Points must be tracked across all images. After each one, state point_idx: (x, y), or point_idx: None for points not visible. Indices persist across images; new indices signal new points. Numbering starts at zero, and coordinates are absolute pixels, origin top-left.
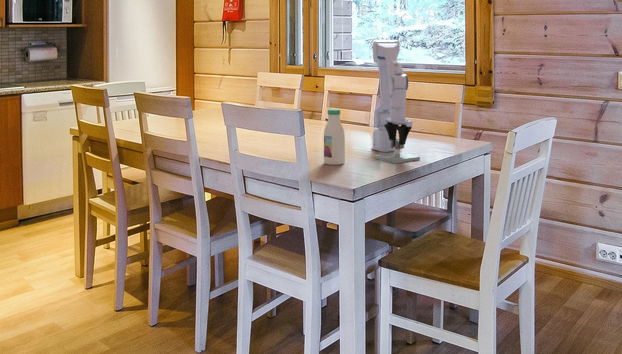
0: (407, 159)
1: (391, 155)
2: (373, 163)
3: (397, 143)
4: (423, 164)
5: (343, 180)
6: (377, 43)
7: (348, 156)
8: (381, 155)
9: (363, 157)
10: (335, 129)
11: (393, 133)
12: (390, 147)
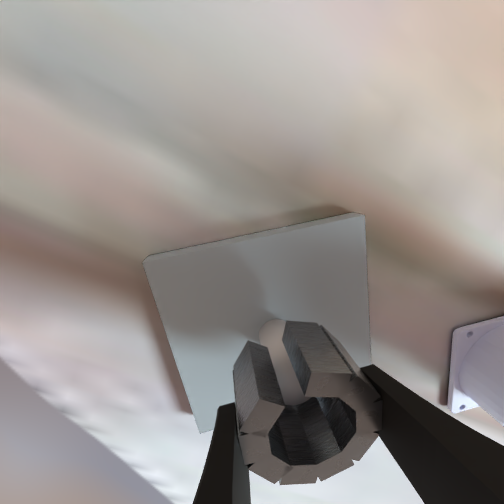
0: (176, 354)
1: (304, 308)
2: (205, 118)
3: (243, 393)
4: (69, 395)
5: None
6: None
7: (500, 69)
8: (335, 250)
9: (415, 154)
10: None
11: (432, 484)
12: (299, 323)
